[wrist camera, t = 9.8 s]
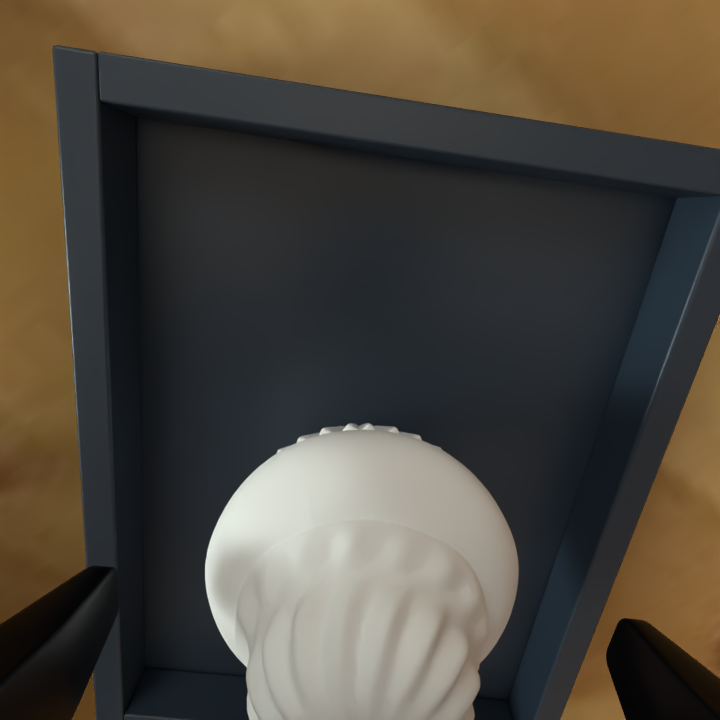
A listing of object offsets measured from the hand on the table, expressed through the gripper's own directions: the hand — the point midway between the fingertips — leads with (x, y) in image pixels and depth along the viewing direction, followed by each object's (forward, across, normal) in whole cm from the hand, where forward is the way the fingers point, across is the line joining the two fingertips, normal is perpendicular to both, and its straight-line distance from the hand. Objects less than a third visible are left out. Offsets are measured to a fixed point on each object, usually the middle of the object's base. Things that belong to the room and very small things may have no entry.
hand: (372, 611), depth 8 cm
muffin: (+5, 0, 0) cm, 5 cm away
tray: (+5, 0, 0) cm, 5 cm away
